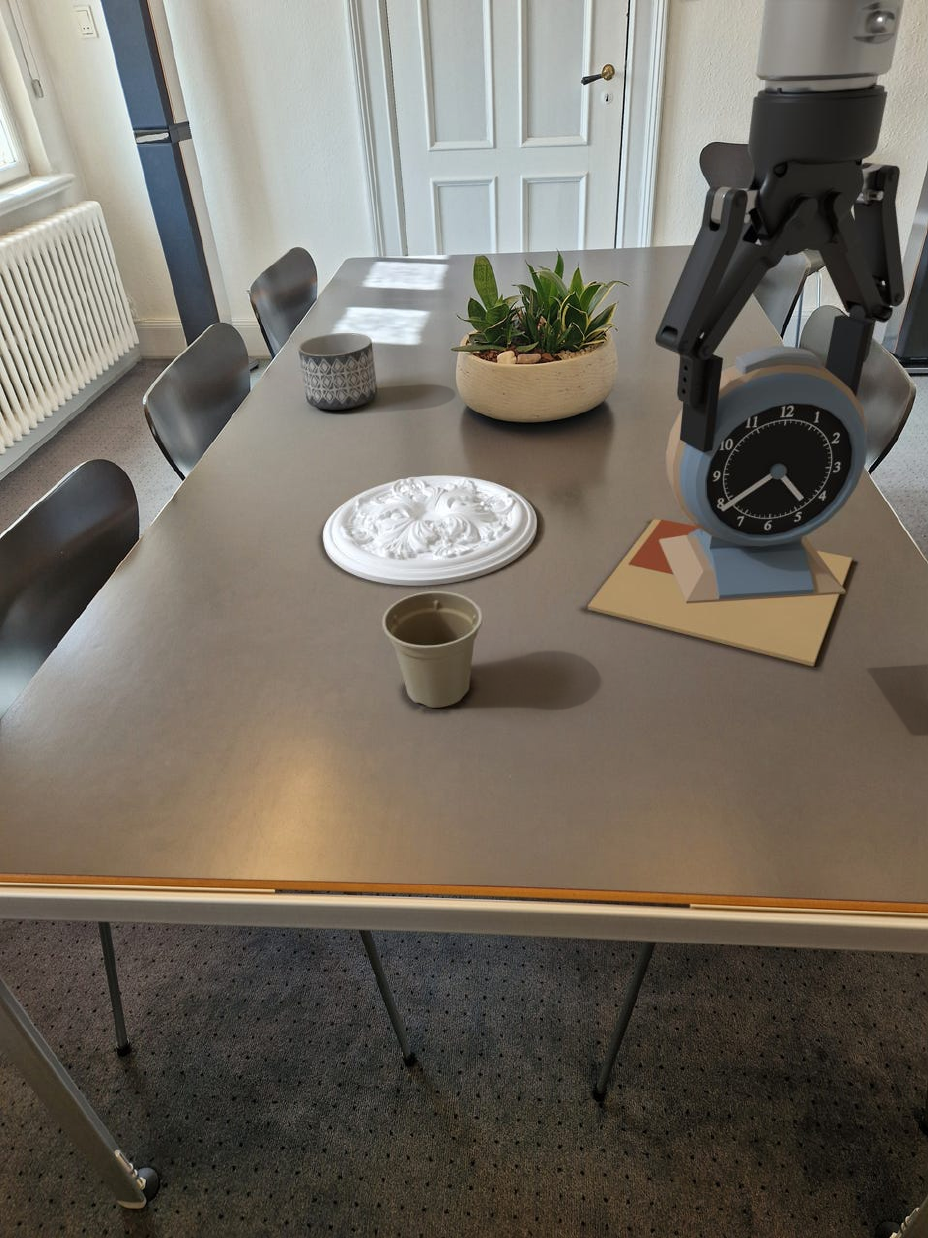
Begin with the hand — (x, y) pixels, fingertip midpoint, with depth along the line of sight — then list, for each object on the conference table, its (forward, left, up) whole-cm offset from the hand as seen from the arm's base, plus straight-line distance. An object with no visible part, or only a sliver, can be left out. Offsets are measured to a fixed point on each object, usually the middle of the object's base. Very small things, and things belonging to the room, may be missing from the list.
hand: (768, 425), depth 63 cm
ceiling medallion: (+44, -20, -29) cm, 56 cm away
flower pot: (+26, +8, -29) cm, 40 cm away
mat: (+6, -22, -28) cm, 37 cm away
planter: (+83, -54, -29) cm, 103 cm away
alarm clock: (0, 0, -12) cm, 12 cm away
